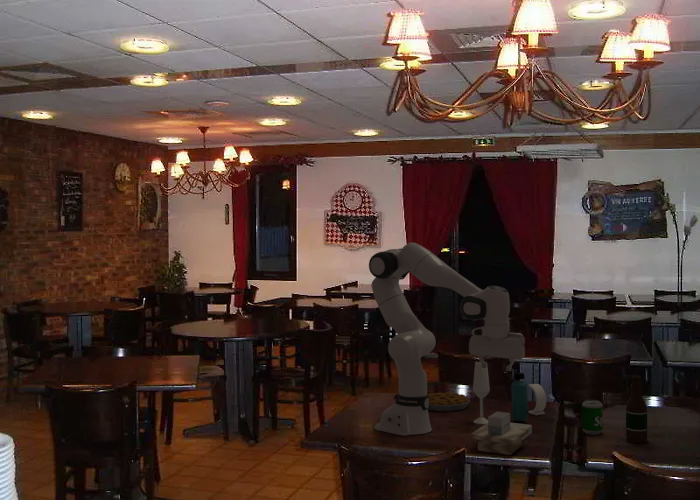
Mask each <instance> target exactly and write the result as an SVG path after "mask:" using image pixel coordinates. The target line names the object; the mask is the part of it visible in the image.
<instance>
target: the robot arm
mask: <svg viewBox="0 0 700 500" xmlns="http://www.w3.org/2000/svg"><path fill="white" fill-rule="evenodd" d="M368 269H369V272H370V273H371V275H372V276H373V277H375V278H374V279H373V280H372V281H371V284H370V285H371V291H372V294H373V297H374V299H375V303H376V304H377V306H378V308H379V311H380V313H381V315H382V317H383V319H384V321H385V323H386V324H387V326H389V327H390V328H391V329H393V330H394V331H395V332H396V335H394V337H392V338H391V339H390V341H389V342H388V346H387V351H388V353H389V356H390V357H391V359H393V361H394V363H395V366H396V370H397V377H398V393H396V394H395V395H394V396H393V397H392V400H394V402H393V403H392V404H391V405H390V406H389V407H388V408H386V409H385V410H384V411H382V413H381V416H380V420H379V421H380V422H378V423H376V424H375V426H374V430H375V431H380V432H385V433H388V434H394V435H397V436H402V437H403V436H411V435H412V436H413V435H423V434H427V433H430V432H431V431H433V429H432V425H431V422H430V416H429V409H428V405H429V400H428V394H429V393H428V376H427V373H426V371H425V370H424V369H423V365H422V361H421V360H422V359H421V358H423V357H425V356H427V355H429V354H431V352H432V351H433V350H434V349H435V346H436V345H437V343H436V341H437V340H436V337H435V335H434V333H433V332H431V331H430V330H429V329H427V328H426V327H425V326H424V324H423V323H422V322H421V321H420V320H419V319H418V317H417V316H416V315H415V314H414V312H413V311H412V309H411V307H410V305H409V303H408V301H407V299H406V297H405V295H404V292H403V291H402V288H401V287H400V280H401V281H402V280H404V279H405V278H406V277H407V275H408V274H412V276H415V278H416V279H418V280H419V281H420V282H422V283H424V284H425V285H428V286H430V287H441V288H445V289H446V288H447V289H450V290H453V291H455V292H456V293H458V294H459V295H460V296H462V297H463V298H461V301H460V303H459V309H460V314H461V315H462V316H463V318H464V319H465V320H469V321H478V320H483V321H484V325H481V326H479V327H476V328H473V329H471V337H470V339H469V343H468V352H469V354H470V355H473V356H478V358H477V359H478V360H479V362H481V368H486V367H487V368H488V362H486V363H485V361H484V360H485V359H484V358H485V357H490V358H500V359H509V360H508V361H509V362H510V363H508V364H509V365H508V364H507V365H506V366H505V371H506V372H512V369H513V368H512V366H513V365H514V363H515V362H516V360H518V361H520V360H522V359H524V358H525V354H526V351H525V344H526V338H525V337H526V336H524V335H523V334H522V333H520V332H510V326H511V325H510V324H511V323H510V318H509V317H510V316H509V315H510V314H511V313H510V312H511V308H510V305H511V304H510V303H511V302H510V294H509V291H508V290H507V289H506V288H505V287H502V286H498V285H488V286H487V287H486V288H485V289H483V288H480V286H478V285H476V284H475V283H474V282H472V281H471V280H469V279H467V278H466V277H465V276H463V275H462V274H460V273H459V272H457V271H456V270H455V269H453V268H452V267H451V266H449V265H448V264H446V263H445V261H443V260H441V258H439V257H438V256H437V255H436V254H435V253H433V252H432V251H430V250H429V249H427V248H426V247H425V246H423V245H421V244H419V243H416V242H408V243H407V244H405V245H404V246H402V248H391V249H387V250H384V251H379V252H376V253H374V254H373V255H371V257H370V258H369V260H368Z"/></svg>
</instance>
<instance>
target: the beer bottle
mask: <svg viewBox="0 0 700 500" xmlns="http://www.w3.org/2000/svg"><path fill="white" fill-rule="evenodd" d="M641 380H642V376H641V375H639V374H633V375H631V393H630V397H629V398H628V400H627V402H626V405H625V438H626V441H627V442H629V443H633V444H645V443H647V442H648V406H647V404H646V402H645V400H644V398H643V395H642V394H643V393H642V392H643V391H642V381H641Z"/></svg>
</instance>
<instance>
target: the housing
mask: <svg viewBox="0 0 700 500" xmlns="http://www.w3.org/2000/svg"><path fill="white" fill-rule="evenodd" d="M487 420H488V423H487V424H488V434H494V435H501V436H502V435H503V434H505V433H506V432H507V431H509V430H510V423H511V413H510V412H504V411H495V412H494V413H492V414H491V415H488V416H487Z"/></svg>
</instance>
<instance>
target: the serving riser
mask: <svg viewBox="0 0 700 500" xmlns="http://www.w3.org/2000/svg"><path fill="white" fill-rule="evenodd" d="M527 434H528V429H524V428H516V427H510V430H509V431H507V432H506V433H505V434H503V435H502V436H501V435H494V434H488V423H487V424H483V425H482V426H481V427H479V428H478V429H476V430H474V431H473V432H471V433H470V434H469V439H473V440H477V451H480V452H486V453H494V454H502V455H508V456H511V455H512V454H513V453H515V452H516V451H517V450H519V449H520V448H521V447H522V441H521V438H523V437H524V436H525V435H527Z"/></svg>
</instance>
